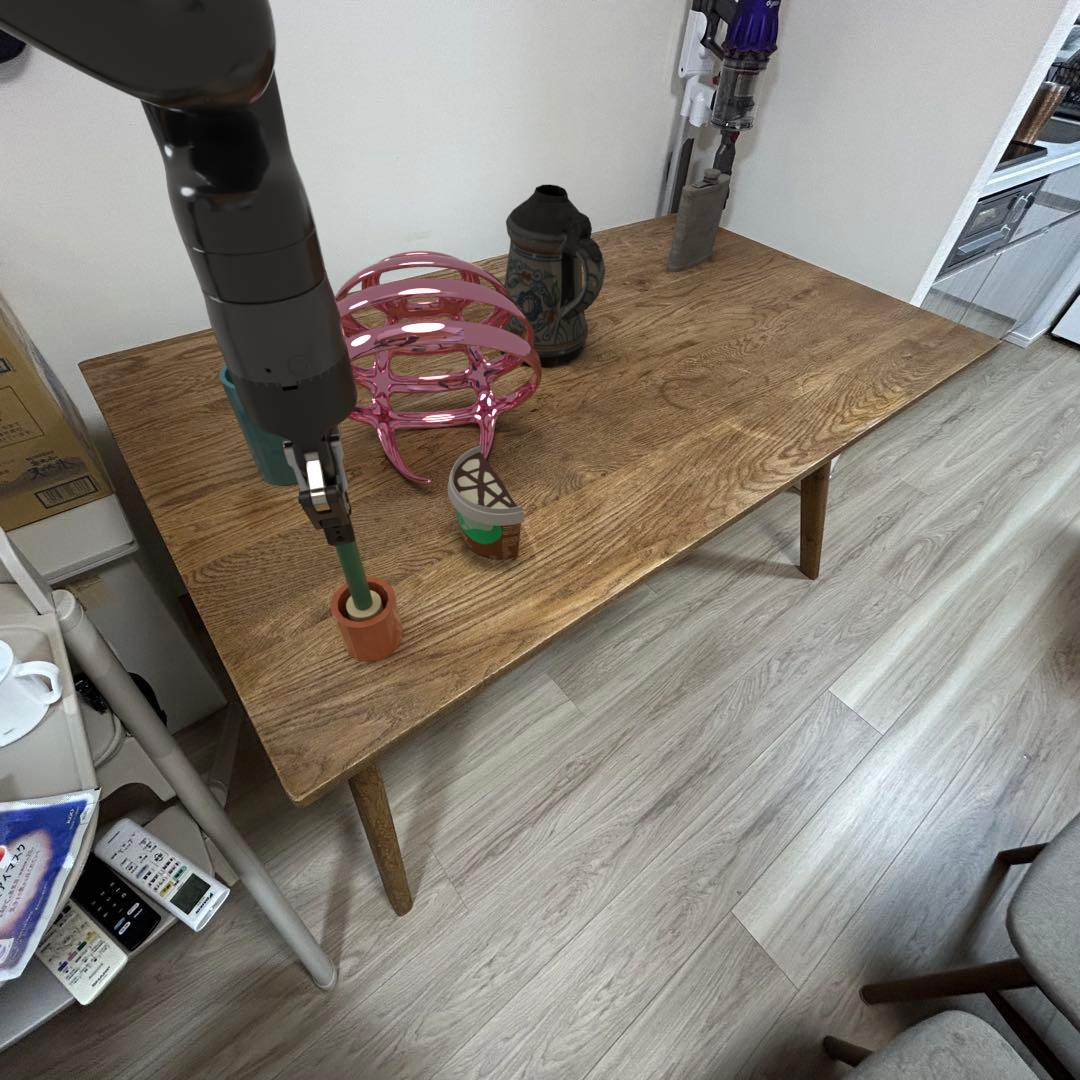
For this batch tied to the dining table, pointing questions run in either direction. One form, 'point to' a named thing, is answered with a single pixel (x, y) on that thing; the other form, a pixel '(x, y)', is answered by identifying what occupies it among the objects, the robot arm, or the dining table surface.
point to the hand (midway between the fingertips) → (340, 527)
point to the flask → (698, 220)
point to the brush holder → (369, 624)
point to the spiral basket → (434, 346)
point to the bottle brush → (358, 585)
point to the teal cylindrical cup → (260, 441)
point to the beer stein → (552, 273)
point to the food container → (484, 508)
